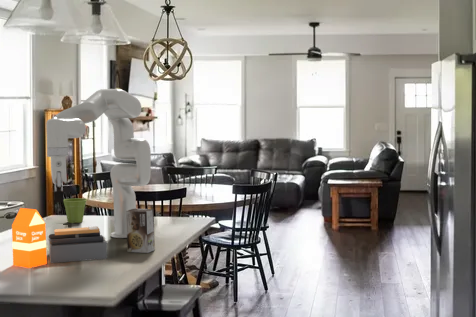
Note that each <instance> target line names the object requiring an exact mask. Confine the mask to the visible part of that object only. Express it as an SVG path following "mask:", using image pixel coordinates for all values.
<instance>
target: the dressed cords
mask: <svg viewBox="0 0 476 317" xmlns="http://www.w3.org/2000/svg"><path fill="white" fill-rule="evenodd" d="M100 235H101V231H100V232H97V233H82V234H79V237H83V238H76V237H75V234H67V235H55V233H50V234H49V235H48V240H49V239H54V240H51V241H50V244H51V245H62V244H76V243H91V242H104V238H105V237H104V236H103V235H102V236H100ZM94 236H98V237H94ZM103 237H104V238H103ZM64 238H69V239H64Z"/></svg>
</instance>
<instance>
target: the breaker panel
mask: <svg viewBox="0 0 476 317" xmlns="http://www.w3.org/2000/svg"><path fill="white" fill-rule="evenodd" d="M100 236H103V235H102V234H100ZM75 237H76V238H83V237H79V234H75ZM94 237H98V236H94ZM103 238H104V242H91V243H76V244H62V245H51V244H50V241H51V240H54V239H49V238H48V256H49V261H50V263H52V264H53V263H54V264H55V263H67V262H78V261H91V260H95V261H96V260H105V259H106V260H107V259H108V243H107V241H106V238H105V236H103ZM64 239H69V238H64Z"/></svg>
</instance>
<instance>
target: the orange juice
mask: <svg viewBox="0 0 476 317" xmlns="http://www.w3.org/2000/svg"><path fill="white" fill-rule="evenodd" d="M46 233H47V230H46V222H45V221H44V219H43V217H42V216H41V215H40V213H39V211H38V210H37V209H34V208H23V207H19V210H18V212H17V214H16V216H15V218H14V220H13V222H12V224H11V236H12V237H11V238H12V239H11V240H12V241H11V242H12V243H11V244H12V265H13V266H14V265H16V266H15V267H22V268H28V269H32V267H33V268H36V267H40V266H44V265H47V262H48V260H47V258H48V257H47V236H46V235H47V234H46Z"/></svg>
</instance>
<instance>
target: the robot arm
mask: <svg viewBox="0 0 476 317" xmlns="http://www.w3.org/2000/svg"><path fill="white" fill-rule="evenodd" d="M141 112H142V104H141V101H140V100H139V99H138V98H137V97H136V96H134V95H132V94H130V93H129V92H127V91H126V90H123V89H120V88H103V89H98V90H96V91H95V92H94V93H93V94H91V95H90V96H88V98H86V99H85V100H84V101H83V102H81V103H79V104H76V105H74V106H71V107H68V108H67V109H66V108H65V109H63V110H62V111H59V112H58V113H56V115H55V116H53V117H52V118H50V119H47V121H46V125H45V127H46V157H48V158H50V170H51V171H50V173H51V174H50V175H51V179H52V183H53V184H54V191H53V193H54V194H53V196H54V199H53V200H54V202H55V203H56V204H57V203H64V199H65V198H64V190H63V189H64V188H63V187H64V185H63V183H64V184H67V183H68V181H67V180H68V179H67V159H66V157H69V139H78V138H81V137H83V136H84V135H85V132H86V130H87V129H86V128H87V126H86V124H90V123H92V122H95V121H96V120H98V119H99V118H100V117H101V116H103V114H104V115H105V117H107V118H108V120H109V121H110V123H111V125H112V127H113V154H114V157H115V158H116V159H117V160H121V161H135V163H125V162H123V163H117V164H115V165H113V166H112V167H111V168H110V180H111V185H112V193H113V194H112V196H113V227H114V229H113V230H114V231H113V232H111V233H110V237H112V238H115V239H116V238H117V239H127V222H126V211H128V210H131V209H137V203H136V202H137V201H136V199H137V197H136V193H135V190H134V188H133V187H134V186H135V187H138V186H139V187H141V186H142V187H143V186H147V185H148V184H149V183H150V180H151V174H152V172H151V171H152V168H151V167H152V164H151V163H152V162H151V157H152V156H151V154H152V153H151V152H152V150H151V147H150V144H149V142H148V141H147V140H146V139H145V138H142V137H141V138H136V137H135V134H134V125H133V122H132V121H131V119H135V118H138V117H139V116H140V114H141Z"/></svg>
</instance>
